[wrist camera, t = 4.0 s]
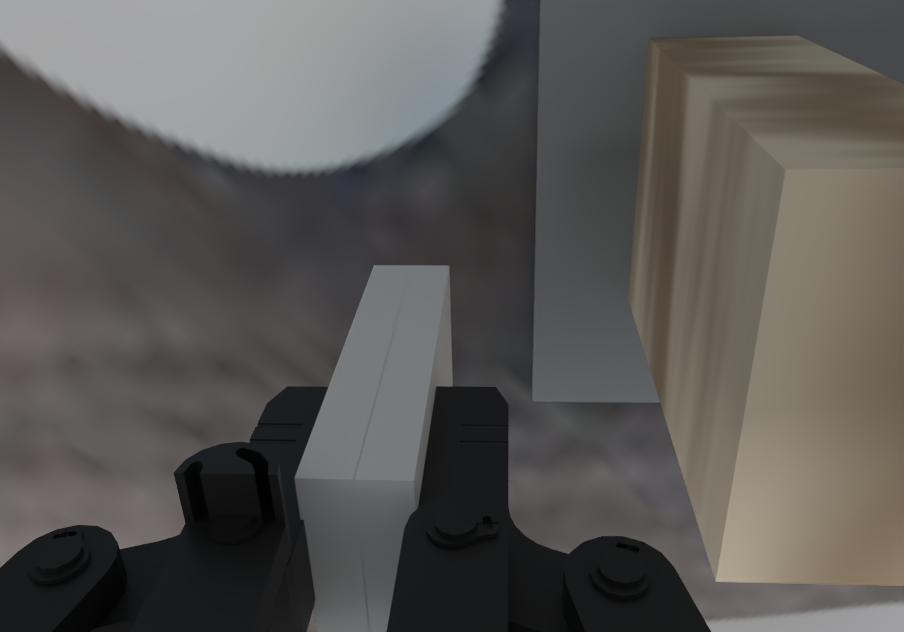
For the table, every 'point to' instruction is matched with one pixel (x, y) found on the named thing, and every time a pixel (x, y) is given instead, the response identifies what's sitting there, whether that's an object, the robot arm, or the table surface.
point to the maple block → (777, 302)
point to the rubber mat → (633, 163)
